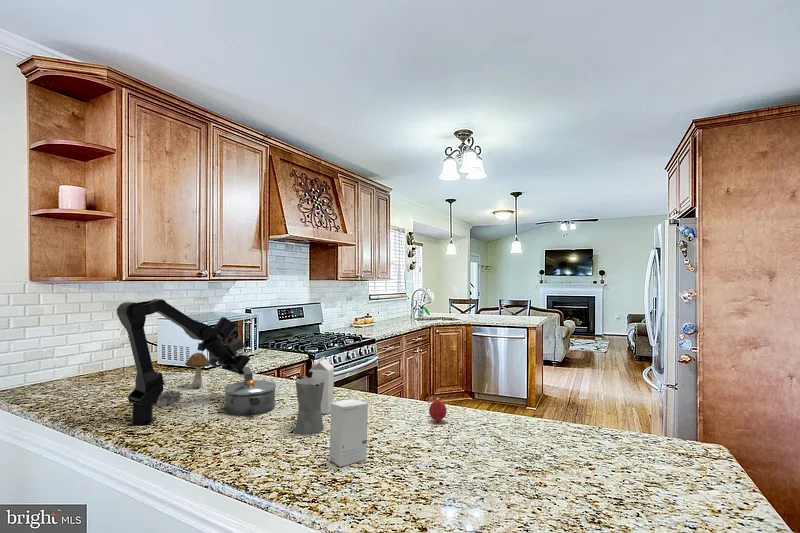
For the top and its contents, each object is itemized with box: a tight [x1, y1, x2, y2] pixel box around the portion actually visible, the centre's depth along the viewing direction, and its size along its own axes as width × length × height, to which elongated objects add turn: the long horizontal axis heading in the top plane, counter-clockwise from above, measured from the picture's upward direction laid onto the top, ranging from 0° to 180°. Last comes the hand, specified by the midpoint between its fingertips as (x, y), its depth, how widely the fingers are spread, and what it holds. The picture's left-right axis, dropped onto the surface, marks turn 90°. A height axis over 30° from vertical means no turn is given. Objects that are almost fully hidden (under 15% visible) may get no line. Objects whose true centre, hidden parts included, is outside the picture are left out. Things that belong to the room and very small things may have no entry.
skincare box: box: [329, 398, 369, 468], centre depth 113 cm, size 8×6×15 cm
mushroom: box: [184, 352, 211, 389], centre depth 186 cm, size 9×11×15 cm
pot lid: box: [224, 366, 277, 395], centre depth 163 cm, size 30×18×4 cm, turn 24°
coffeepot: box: [294, 370, 324, 435], centre depth 137 cm, size 15×9×18 cm, turn 33°
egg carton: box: [153, 389, 184, 407], centre depth 165 cm, size 11×8×4 cm
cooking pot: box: [224, 389, 276, 417], centre depth 157 cm, size 25×17×7 cm
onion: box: [428, 397, 447, 423], centre depth 144 cm, size 6×6×8 cm
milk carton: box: [308, 355, 335, 415], centre depth 155 cm, size 7×7×19 cm
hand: (242, 373), depth 172 cm, fingers closed
